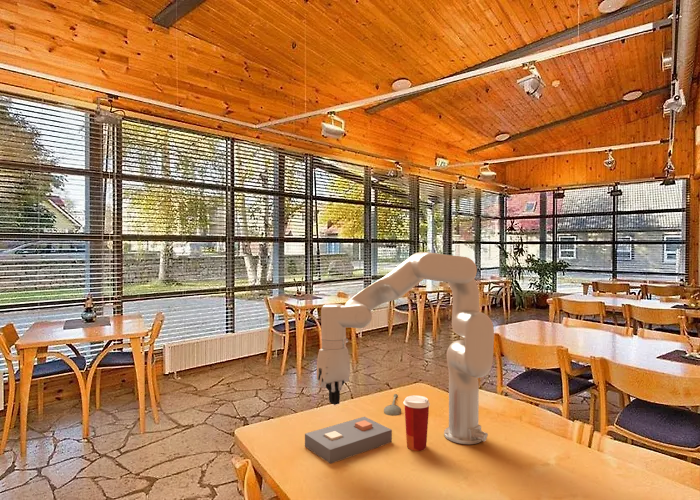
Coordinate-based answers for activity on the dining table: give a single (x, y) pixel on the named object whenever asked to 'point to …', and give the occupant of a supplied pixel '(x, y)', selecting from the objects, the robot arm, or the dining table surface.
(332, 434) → the cream cube block
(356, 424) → the peach square button
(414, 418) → the coffee cup
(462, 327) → the robot arm
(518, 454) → the dining table surface
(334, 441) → the button panel
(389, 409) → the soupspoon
